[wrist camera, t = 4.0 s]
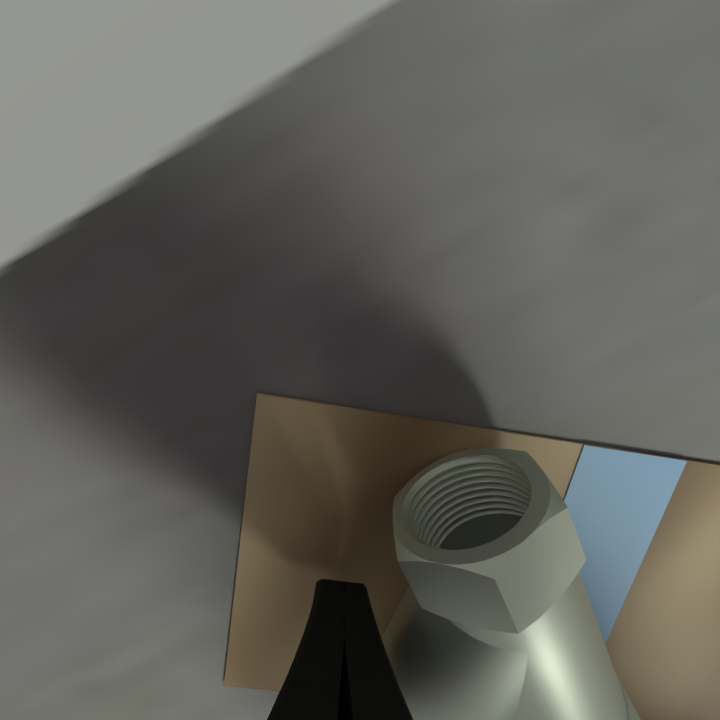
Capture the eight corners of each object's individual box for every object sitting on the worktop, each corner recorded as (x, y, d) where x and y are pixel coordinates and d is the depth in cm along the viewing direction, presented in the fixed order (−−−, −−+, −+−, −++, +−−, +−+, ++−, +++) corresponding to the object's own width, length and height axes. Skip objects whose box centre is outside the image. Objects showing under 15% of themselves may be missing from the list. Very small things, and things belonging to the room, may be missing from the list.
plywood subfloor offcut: (934, 495, 11) (947, 501, 11) (780, 732, 13) (788, 740, 13) (258, 391, 9) (256, 394, 9) (225, 678, 12) (223, 686, 12)
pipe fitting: (391, 692, 13) (591, 641, 11) (395, 879, 9) (693, 831, 8) (282, 509, 11) (510, 427, 10) (229, 650, 7) (595, 541, 6)
